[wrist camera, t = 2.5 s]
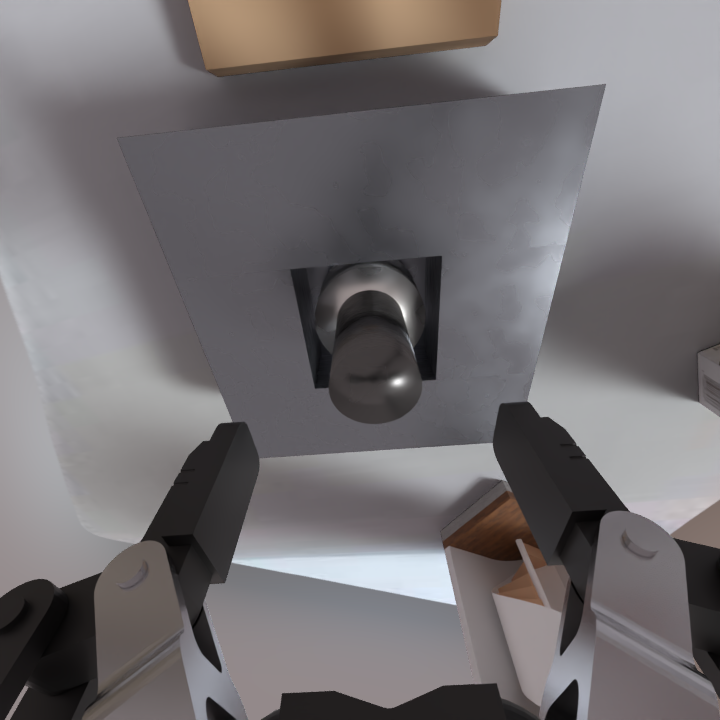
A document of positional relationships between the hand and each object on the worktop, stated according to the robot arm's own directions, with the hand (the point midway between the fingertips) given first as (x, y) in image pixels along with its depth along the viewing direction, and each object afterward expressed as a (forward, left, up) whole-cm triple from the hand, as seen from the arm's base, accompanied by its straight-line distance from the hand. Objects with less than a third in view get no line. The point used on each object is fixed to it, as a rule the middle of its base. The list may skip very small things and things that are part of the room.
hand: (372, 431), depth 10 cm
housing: (0, 0, -13) cm, 13 cm away
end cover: (0, 0, -11) cm, 11 cm away
